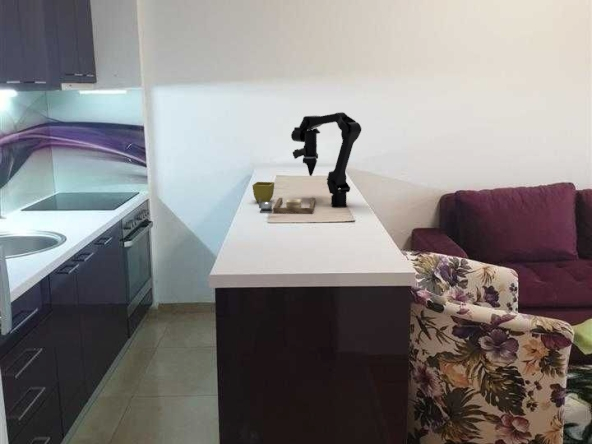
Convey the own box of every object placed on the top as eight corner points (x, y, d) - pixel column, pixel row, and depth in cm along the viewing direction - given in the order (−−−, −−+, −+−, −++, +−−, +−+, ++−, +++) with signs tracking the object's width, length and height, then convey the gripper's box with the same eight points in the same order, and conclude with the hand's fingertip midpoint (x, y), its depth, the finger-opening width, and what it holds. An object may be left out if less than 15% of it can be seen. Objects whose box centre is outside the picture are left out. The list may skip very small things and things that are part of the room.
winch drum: (272, 210, 278) (272, 197, 276) (271, 212, 273) (271, 199, 272) (260, 210, 278) (259, 197, 277) (258, 212, 274) (258, 199, 272)
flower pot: (270, 204, 291) (270, 185, 289) (252, 203, 293) (252, 184, 291) (274, 200, 300) (274, 182, 298) (257, 200, 301) (256, 181, 299)
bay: (315, 203, 293) (315, 198, 293) (312, 213, 271) (312, 208, 270) (279, 202, 295) (279, 197, 294) (273, 213, 272) (273, 207, 272)
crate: (301, 210, 278) (301, 199, 277) (300, 213, 272) (300, 202, 271) (287, 210, 279) (287, 199, 278) (286, 213, 273) (286, 202, 272)
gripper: (295, 140, 303) (295, 172, 306) (291, 145, 285) (292, 178, 288) (318, 140, 302) (318, 172, 305) (316, 145, 284) (316, 179, 287)
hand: (310, 175), depth 297 cm, fingers closed
